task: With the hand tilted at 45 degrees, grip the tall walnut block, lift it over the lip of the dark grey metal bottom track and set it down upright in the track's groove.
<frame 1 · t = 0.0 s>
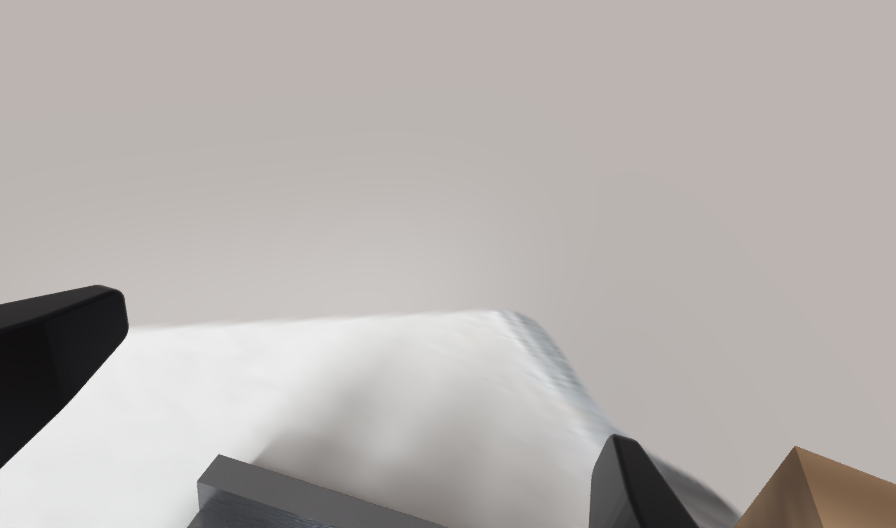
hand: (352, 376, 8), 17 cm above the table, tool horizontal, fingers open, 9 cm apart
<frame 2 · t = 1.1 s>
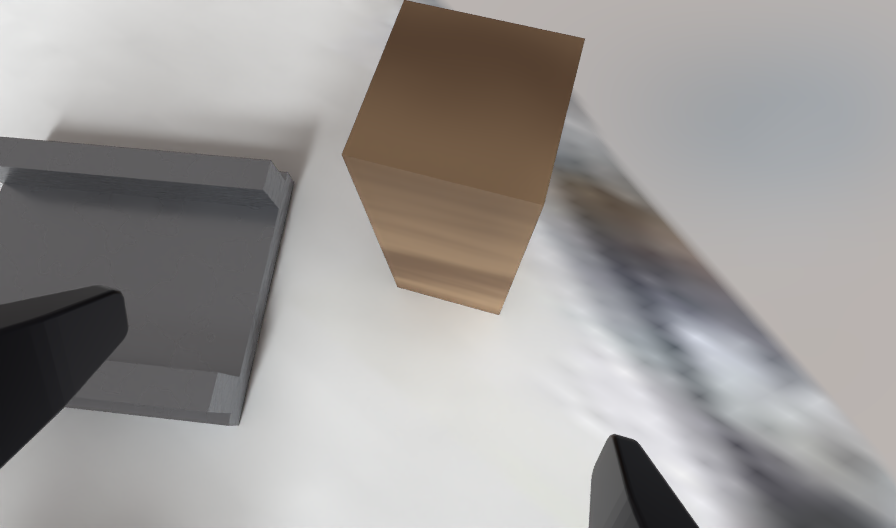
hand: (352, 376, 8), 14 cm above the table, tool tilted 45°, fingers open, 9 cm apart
bottom track: (127, 279, 23), on the table
walnut block: (461, 253, 24), on the table
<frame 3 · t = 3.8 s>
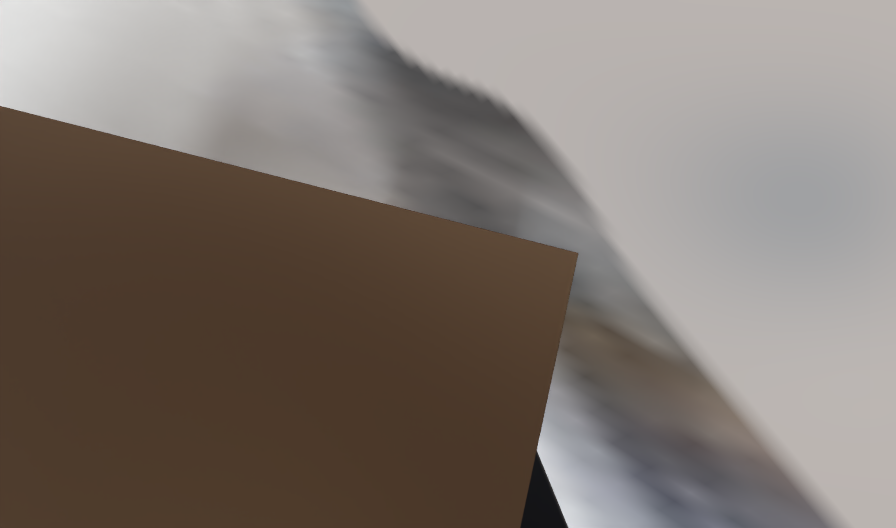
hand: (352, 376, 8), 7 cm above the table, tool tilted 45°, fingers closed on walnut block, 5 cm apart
walnut block: (382, 442, 14), on the table, touching gripper
when the fingers open (9 cm above the table, at t = 7.9 s): walnut block drops 1 cm, resting on bottom track.
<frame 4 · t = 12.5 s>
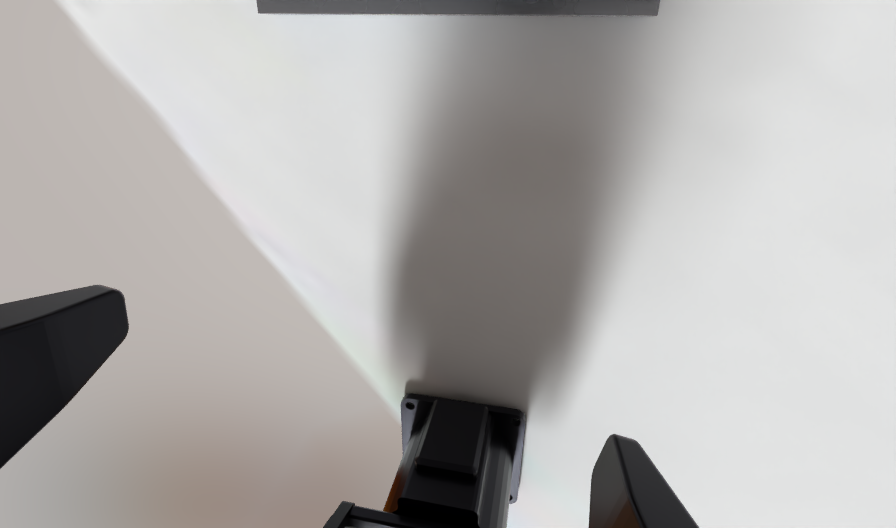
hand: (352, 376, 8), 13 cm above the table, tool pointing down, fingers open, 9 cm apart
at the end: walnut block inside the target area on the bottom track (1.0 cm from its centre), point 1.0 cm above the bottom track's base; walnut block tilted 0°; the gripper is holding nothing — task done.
